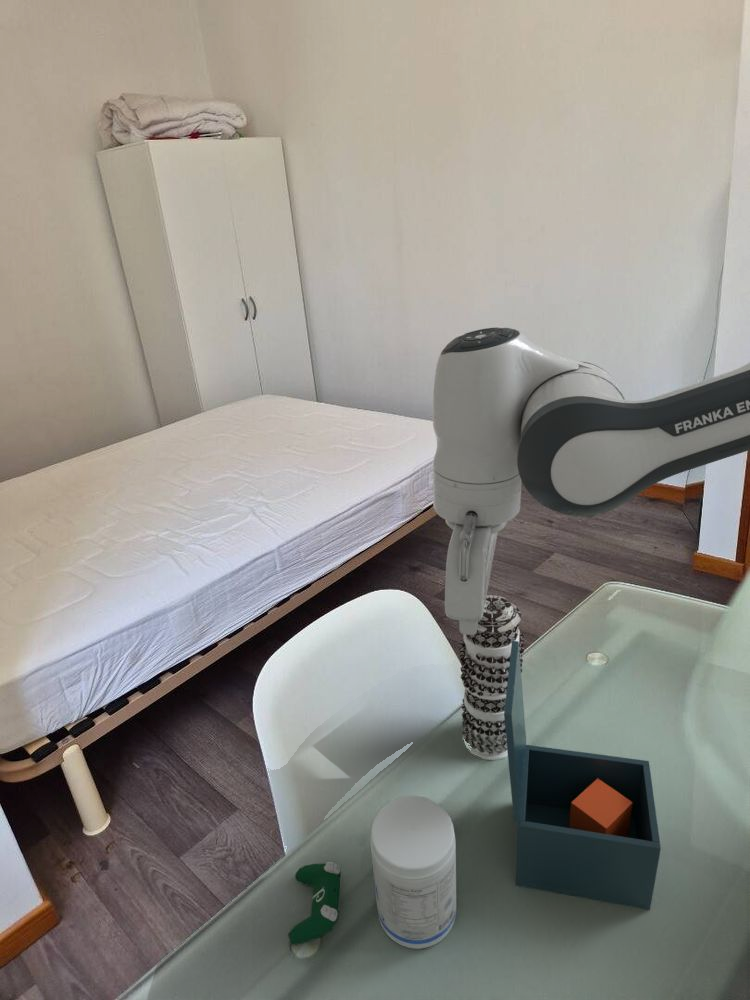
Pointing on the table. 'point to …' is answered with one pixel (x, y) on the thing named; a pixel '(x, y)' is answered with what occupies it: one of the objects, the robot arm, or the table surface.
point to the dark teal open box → (583, 854)
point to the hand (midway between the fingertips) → (473, 604)
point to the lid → (515, 731)
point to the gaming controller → (318, 901)
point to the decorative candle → (489, 677)
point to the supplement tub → (414, 871)
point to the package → (601, 810)
